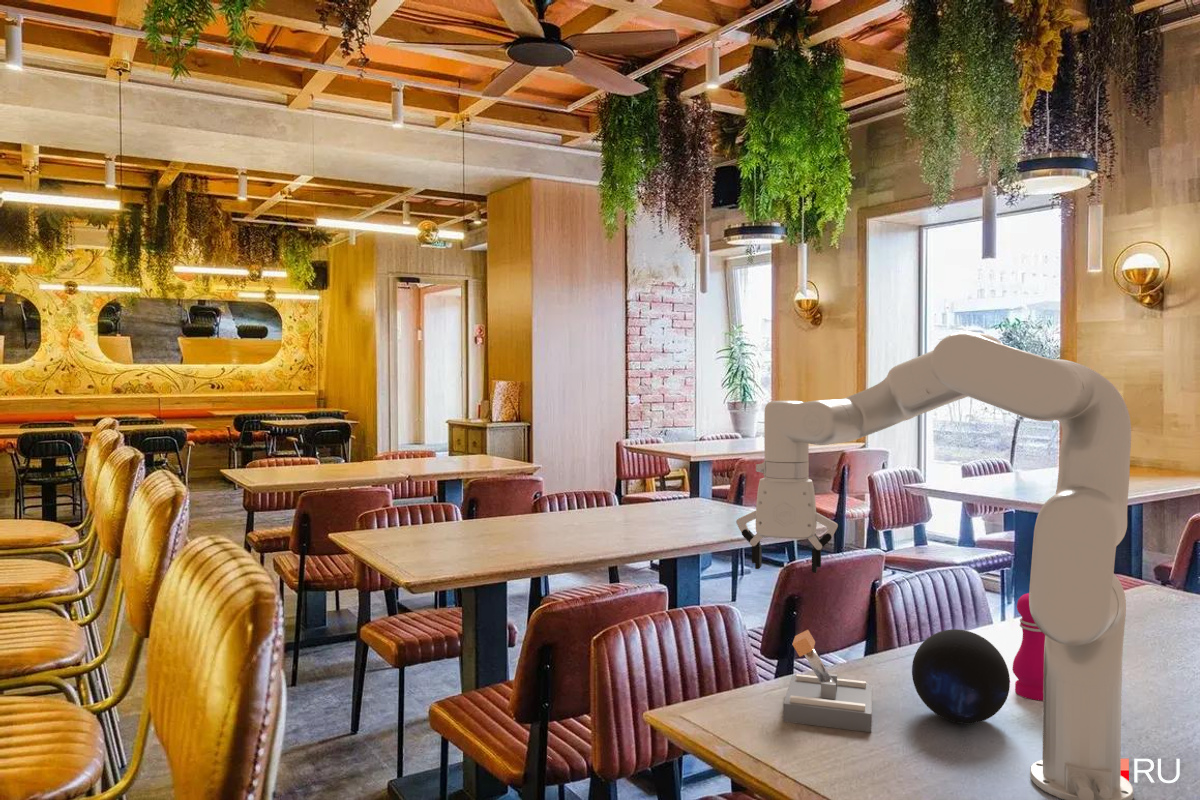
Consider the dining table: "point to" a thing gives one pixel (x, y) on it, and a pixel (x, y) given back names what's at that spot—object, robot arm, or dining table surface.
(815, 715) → the switch panel
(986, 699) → the decorative sphere
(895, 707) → the dining table surface
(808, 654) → the lever
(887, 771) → the dining table surface
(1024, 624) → the pepper mill
